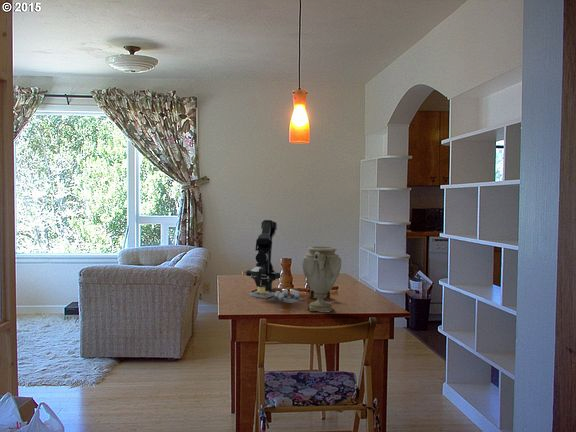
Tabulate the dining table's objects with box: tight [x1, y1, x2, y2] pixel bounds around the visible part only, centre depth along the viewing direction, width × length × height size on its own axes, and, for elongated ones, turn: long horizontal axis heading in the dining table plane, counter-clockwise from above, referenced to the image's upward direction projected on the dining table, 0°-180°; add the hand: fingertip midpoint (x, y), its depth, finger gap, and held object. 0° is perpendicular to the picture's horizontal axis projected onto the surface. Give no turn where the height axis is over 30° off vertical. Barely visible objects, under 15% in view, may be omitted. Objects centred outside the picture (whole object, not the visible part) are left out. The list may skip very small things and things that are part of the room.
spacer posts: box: [273, 288, 300, 302], centre depth 286 cm, size 14×10×4 cm
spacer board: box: [267, 295, 305, 304], centre depth 286 cm, size 14×14×1 cm
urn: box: [302, 246, 342, 312], centre depth 266 cm, size 24×18×30 cm
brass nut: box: [256, 285, 269, 295], centre depth 294 cm, size 6×5×4 cm
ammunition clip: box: [309, 288, 331, 300], centre depth 291 cm, size 11×2×12 cm, turn 103°
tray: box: [248, 291, 275, 299], centre depth 294 cm, size 10×10×2 cm
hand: (262, 290), depth 294 cm, fingers closed on brass nut, 5 cm apart
